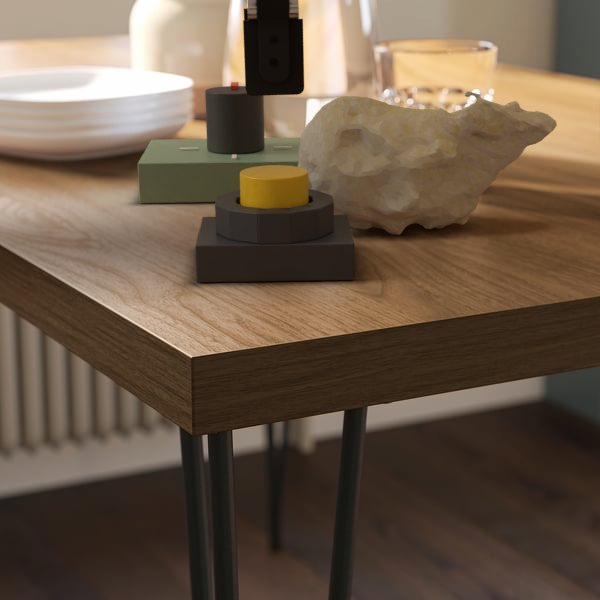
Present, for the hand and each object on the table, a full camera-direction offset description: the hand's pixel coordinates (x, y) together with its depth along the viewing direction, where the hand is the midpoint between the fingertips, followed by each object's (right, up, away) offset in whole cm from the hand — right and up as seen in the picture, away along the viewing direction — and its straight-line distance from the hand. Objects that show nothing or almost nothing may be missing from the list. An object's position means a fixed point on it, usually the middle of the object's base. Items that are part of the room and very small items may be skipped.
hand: (273, 83), depth 69 cm
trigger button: (0, -7, 0) cm, 7 cm away
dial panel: (-3, -4, +22) cm, 23 cm away
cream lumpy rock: (+10, -8, +11) cm, 17 cm away
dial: (-3, -1, +21) cm, 22 cm away
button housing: (0, -11, +1) cm, 11 cm away
